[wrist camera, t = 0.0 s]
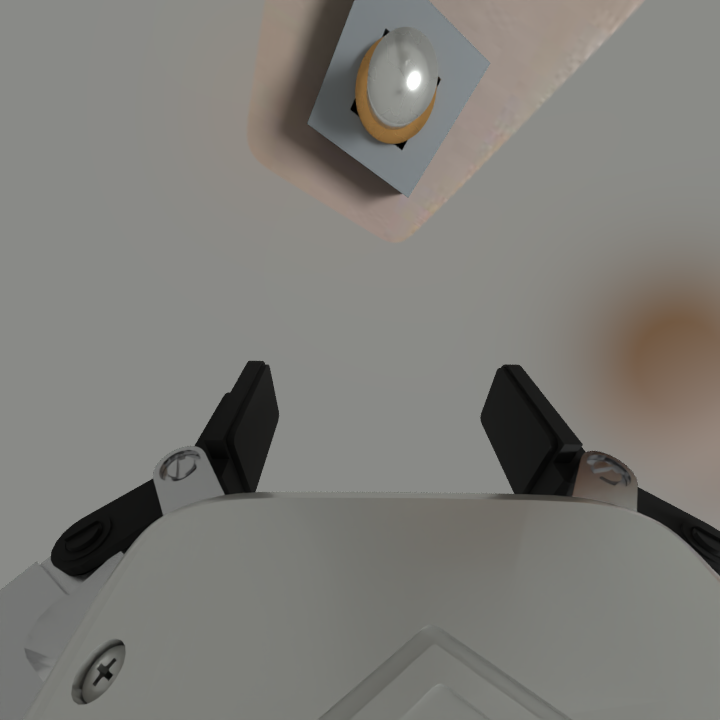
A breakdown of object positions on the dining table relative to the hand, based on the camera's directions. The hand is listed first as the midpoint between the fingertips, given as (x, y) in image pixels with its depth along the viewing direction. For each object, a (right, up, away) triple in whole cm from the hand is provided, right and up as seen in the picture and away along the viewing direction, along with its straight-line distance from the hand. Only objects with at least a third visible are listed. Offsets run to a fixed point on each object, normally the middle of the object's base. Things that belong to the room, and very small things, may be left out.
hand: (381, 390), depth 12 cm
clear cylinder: (+2, +28, +17) cm, 33 cm away
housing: (+2, +28, +18) cm, 34 cm away
